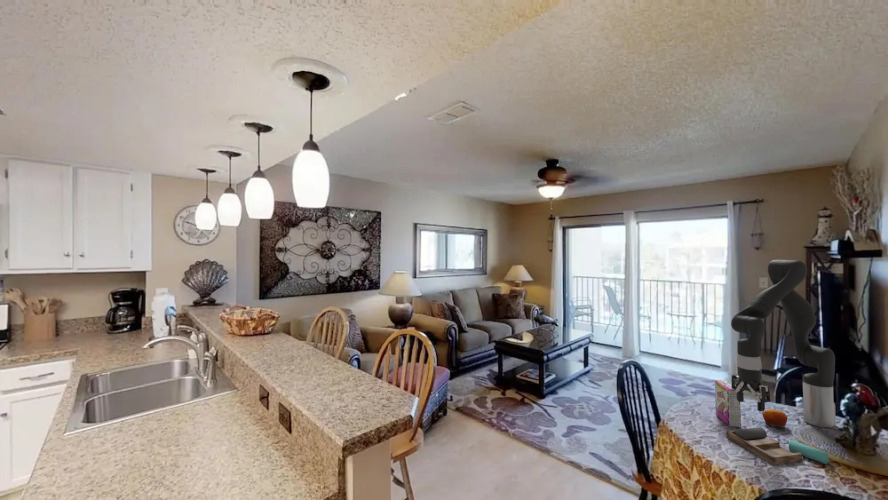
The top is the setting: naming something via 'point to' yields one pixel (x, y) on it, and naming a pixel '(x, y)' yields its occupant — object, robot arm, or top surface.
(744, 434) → the gray rounded cylinder
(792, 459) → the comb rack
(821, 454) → the teal rod
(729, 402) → the candy bar box
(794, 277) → the robot arm
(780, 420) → the fruit
